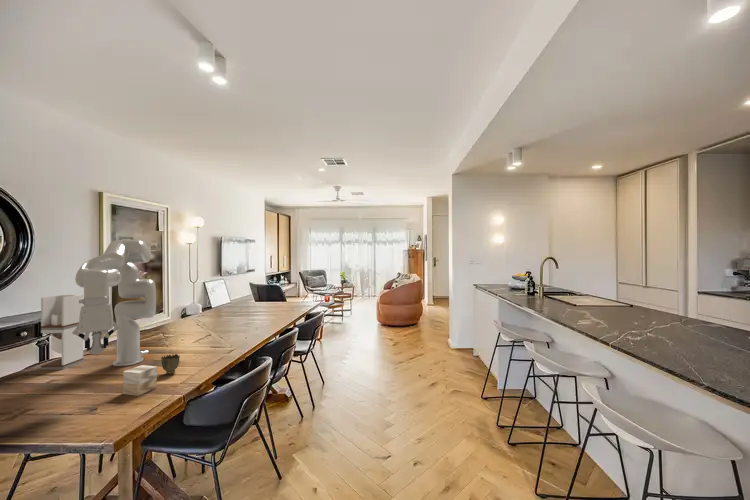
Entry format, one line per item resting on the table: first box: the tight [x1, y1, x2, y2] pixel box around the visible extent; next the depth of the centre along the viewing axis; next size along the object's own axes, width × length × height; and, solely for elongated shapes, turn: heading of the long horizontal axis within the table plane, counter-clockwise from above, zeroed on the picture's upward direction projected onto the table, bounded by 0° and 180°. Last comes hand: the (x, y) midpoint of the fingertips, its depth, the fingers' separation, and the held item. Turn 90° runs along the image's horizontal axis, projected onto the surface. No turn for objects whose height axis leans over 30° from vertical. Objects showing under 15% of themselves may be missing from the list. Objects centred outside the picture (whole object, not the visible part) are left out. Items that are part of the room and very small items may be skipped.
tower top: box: [122, 364, 158, 385], centre depth 136 cm, size 8×8×4 cm
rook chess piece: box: [88, 331, 105, 355], centre depth 130 cm, size 4×4×8 cm
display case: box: [40, 294, 84, 371], centre depth 168 cm, size 11×11×35 cm
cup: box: [161, 353, 181, 375], centre depth 156 cm, size 8×7×8 cm
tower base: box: [122, 377, 158, 397], centre depth 136 cm, size 8×8×4 cm
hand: (96, 348), depth 130 cm, fingers closed on rook chess piece, 4 cm apart
